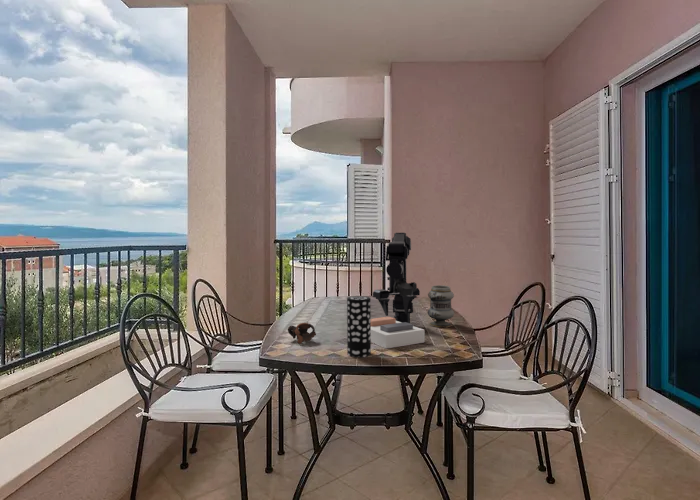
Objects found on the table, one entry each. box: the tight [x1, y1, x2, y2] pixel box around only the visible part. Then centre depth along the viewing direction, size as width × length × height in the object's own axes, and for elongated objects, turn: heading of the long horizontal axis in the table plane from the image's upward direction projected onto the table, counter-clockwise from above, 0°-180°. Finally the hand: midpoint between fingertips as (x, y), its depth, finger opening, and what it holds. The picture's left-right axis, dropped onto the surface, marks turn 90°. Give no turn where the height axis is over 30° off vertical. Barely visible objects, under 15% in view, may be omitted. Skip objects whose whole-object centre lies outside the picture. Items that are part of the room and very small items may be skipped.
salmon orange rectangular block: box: [371, 316, 396, 326], centre depth 179 cm, size 12×5×4 cm, turn 118°
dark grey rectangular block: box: [380, 322, 414, 333], centre depth 168 cm, size 12×5×4 cm, turn 118°
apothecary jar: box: [427, 284, 455, 328], centre depth 198 cm, size 12×12×18 cm
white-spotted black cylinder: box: [346, 295, 372, 358], centre depth 152 cm, size 8×8×20 cm
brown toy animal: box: [287, 322, 317, 345], centre depth 170 cm, size 12×10×8 cm
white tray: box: [371, 321, 425, 349], centre depth 174 cm, size 18×24×5 cm
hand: (396, 314), depth 168 cm, fingers open, 9 cm apart
